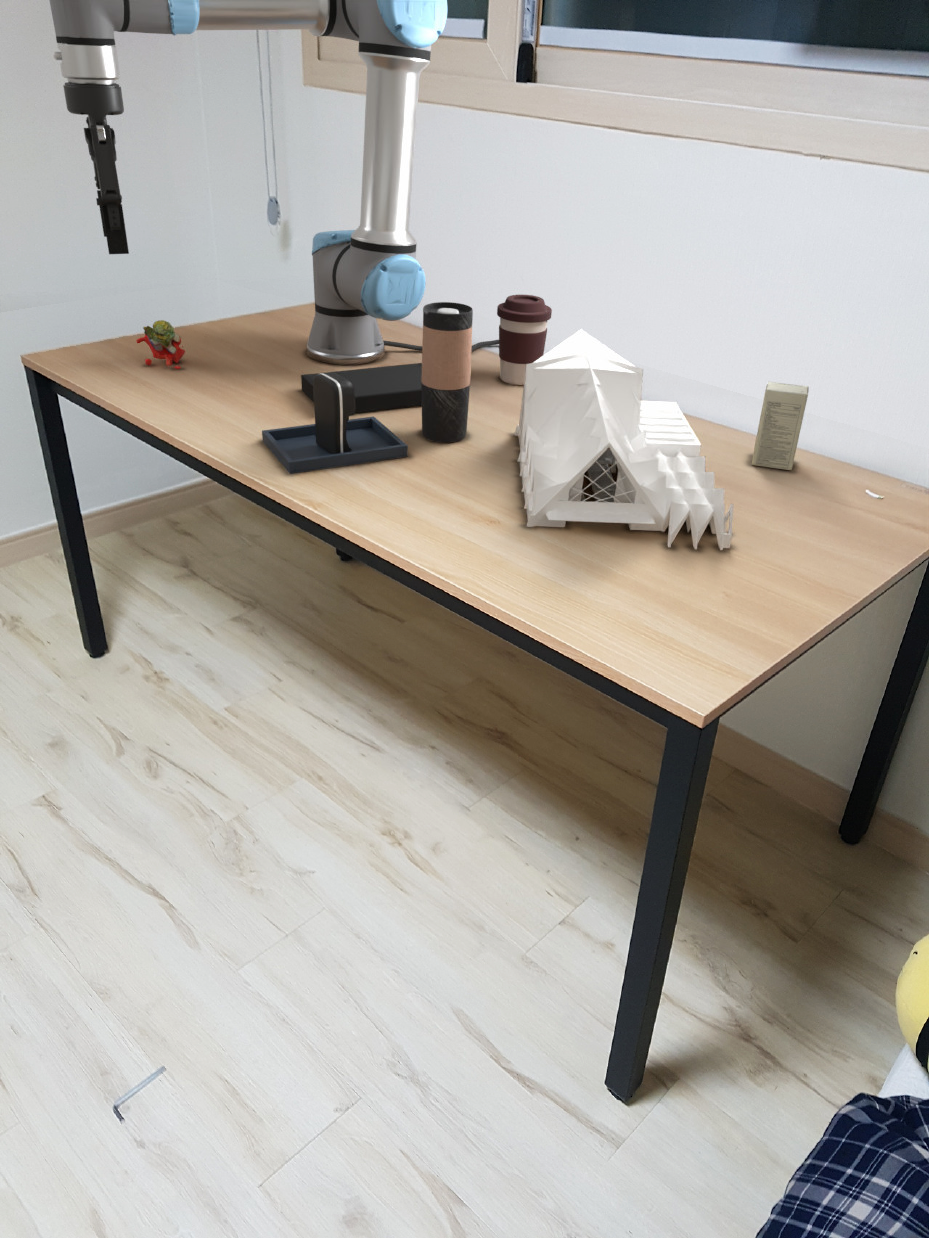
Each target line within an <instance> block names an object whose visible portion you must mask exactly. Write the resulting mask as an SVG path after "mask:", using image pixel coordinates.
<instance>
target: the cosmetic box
mask: <svg viewBox="0 0 929 1238" xmlns="http://www.w3.org/2000/svg"><path fill="white" fill-rule="evenodd" d="M809 389H810V388H809V386H807V385H799V384H790V383H783V382H782V383H781V382H773V381H767V384H766V386H765V391H764V396H763V401H762V406H761V412H760V416H759V422H758V427H757V432H756V437H755V443H754V448H753V454H752V459H751V462H750V463H751V465H752V466H757V467H763V468H772V469H779V470H787V471H793V466H794V462H795V457H796V452H797V449H798V443H799V439H800V434H801V429H802V424H803V421H804V420H803V419H804V416H805V411H806V406H807V403H808V402H807V401H808V397H809V391H810V390H809Z"/></svg>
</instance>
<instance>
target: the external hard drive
mask: <svg viewBox="0 0 929 1238" xmlns="http://www.w3.org/2000/svg"><path fill="white" fill-rule="evenodd" d="M330 372H331V371H325V372H322V373H323V374H324V373H330ZM332 372H333V373H336V374H338V375H340V376H342V377H344V378H346V379H348V380H349V381H350V382H351V383H352V385H353V387H354V394H355V414H361V413H363V414H364V413H369V412H370V413H371V412H378V411H388V410H396V409H405V408H413V407H422V392H421V377H422V362H417V363H416V362H415V363H405V364H395V365H386V366H377V367H376V366H375V367H365V368H357V369H347V370H346V369H345V370H336V371H332ZM320 373H321V372H316V373H306V374H301V375H300V384H301V392H302V393H303V394H304V395H305V396H306V397H307V398H308V399H309V400H310V401H311V402H312V403H313V404H314V396H313V380H314V377H315V376H316V375H318V374H320Z"/></svg>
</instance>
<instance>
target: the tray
mask: <svg viewBox="0 0 929 1238" xmlns="http://www.w3.org/2000/svg"><path fill="white" fill-rule="evenodd" d="M261 436H262V437H261V439H262V443H263V444H264V445H265V446H266V447H267V449H268V450H269V451H270V452H271V453H272V455H273V456H274V457H275V458H276V460H277V461H278V462H279V463H280V465H282V467H283V468H284V469H285V470H286V471H287V473H288V474H289V475H292V474H299V473H300V474H301V473H305V472H313V471H314V472H315V471H320V470H327V469H334V468H339V467H347V466H354V465H361V464H366V463H374V462H381V461H387V460H394V459H400V458H407V457H409V445H408V444H406V442H404V441H403V440H402V439H401V438H400V437H399V436H397V435H396V434H395V433H394V432H393V431H391V429H389V428H388V427H387V426H385V424H383V422H381V421H380V420H379V419H378V418H376V417H375V416H366V417H359V418H358V417H357V418H349V420H348V422H347V424H346V439H347V443H348V445H349V447H351V448H352V452H345V453H338V454H331V453H329V452H328V451H326V450H325V449H323V448H322V447H320V446H319V445H318V444H316V431H315V423H311V424H304V425H295V426H287V427H279V428H271V429H262V430H261Z"/></svg>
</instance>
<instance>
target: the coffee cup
mask: <svg viewBox="0 0 929 1238" xmlns="http://www.w3.org/2000/svg"><path fill="white" fill-rule="evenodd" d="M496 308H497V309H496V315H497V316H498V318H499V325H498V340H499V344H498V357H499V378H500V379H501V380H502V381H503V382H505V383H507V384H510V385H514V386H524V380H525V372H526V364H530V363H533V362H535V361H536V360H538V359H539V358H540V357H542V356H543V355H545V354H544V352H545V347H546V342H547V341H546V340H547V333H548V328H547V326H548V321H550V319H552V312H553V309H552V308H551V306H548V305H546V302H545V300H544V298H543V297H541V296H537V295H533V294H512V295H508V296H507V297H506V299H505V300H504V302H501V303H499V304H498V305H497V307H496Z"/></svg>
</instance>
